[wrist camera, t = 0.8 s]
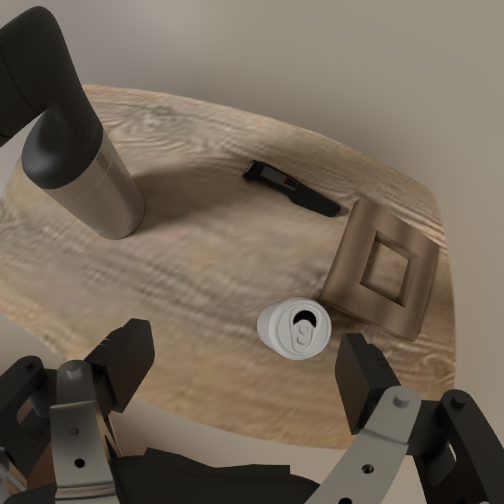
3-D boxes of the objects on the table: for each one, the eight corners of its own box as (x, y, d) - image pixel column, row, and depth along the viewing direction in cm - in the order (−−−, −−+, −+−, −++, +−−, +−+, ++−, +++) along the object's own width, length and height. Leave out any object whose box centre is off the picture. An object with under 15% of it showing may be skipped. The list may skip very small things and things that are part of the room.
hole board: (317, 300, 38) (324, 298, 35) (354, 203, 42) (362, 196, 39) (403, 341, 37) (414, 341, 34) (428, 250, 42) (438, 245, 39)
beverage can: (305, 306, 37) (339, 300, 26) (297, 351, 36) (329, 364, 24) (260, 299, 37) (277, 290, 25) (252, 345, 35) (265, 358, 24)
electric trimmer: (329, 226, 41) (337, 219, 38) (240, 179, 41) (241, 169, 38) (337, 207, 42) (345, 199, 39) (251, 162, 42) (253, 151, 39)
